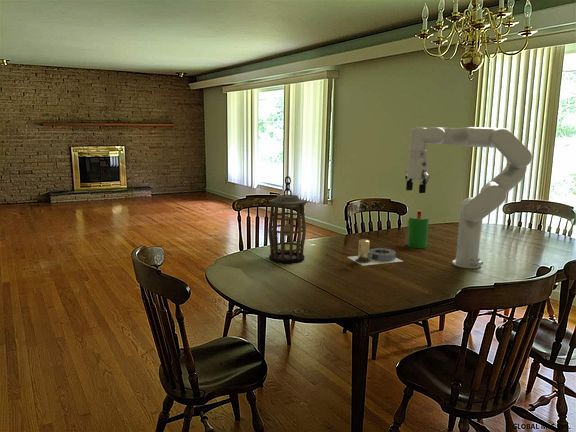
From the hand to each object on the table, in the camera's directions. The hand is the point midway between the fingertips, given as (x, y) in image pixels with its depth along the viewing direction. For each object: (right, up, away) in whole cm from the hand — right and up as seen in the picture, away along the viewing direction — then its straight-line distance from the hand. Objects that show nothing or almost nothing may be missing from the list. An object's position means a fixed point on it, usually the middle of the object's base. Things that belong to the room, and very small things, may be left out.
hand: (415, 191), depth 213 cm
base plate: (-18, -33, +4) cm, 38 cm away
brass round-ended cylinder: (-24, -32, 0) cm, 40 cm away
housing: (-14, -32, +6) cm, 35 cm away
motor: (+10, -28, +33) cm, 45 cm away
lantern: (-60, -32, +5) cm, 69 cm away
